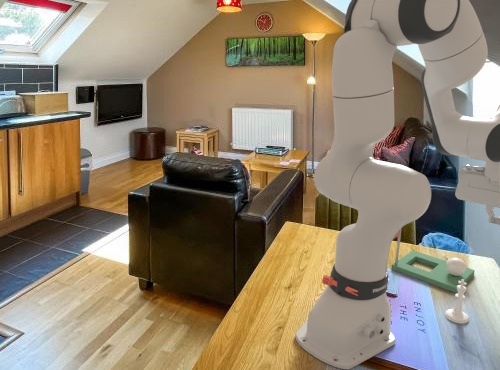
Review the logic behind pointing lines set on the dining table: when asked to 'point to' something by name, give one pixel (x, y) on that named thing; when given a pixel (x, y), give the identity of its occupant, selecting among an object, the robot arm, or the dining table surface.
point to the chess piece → (458, 306)
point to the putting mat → (435, 276)
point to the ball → (456, 266)
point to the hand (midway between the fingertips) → (495, 223)
